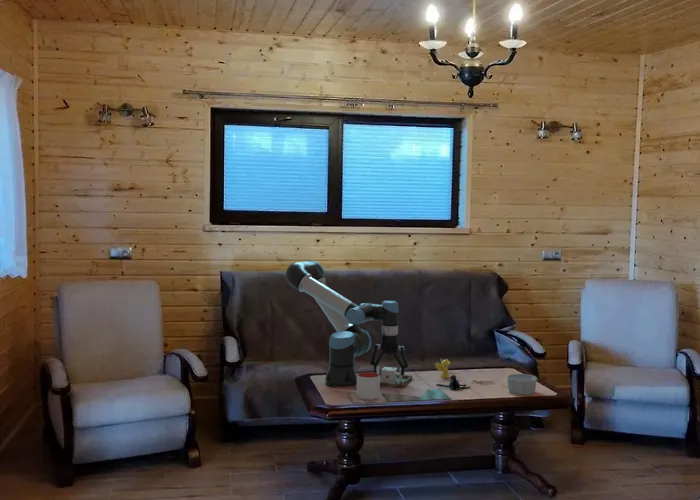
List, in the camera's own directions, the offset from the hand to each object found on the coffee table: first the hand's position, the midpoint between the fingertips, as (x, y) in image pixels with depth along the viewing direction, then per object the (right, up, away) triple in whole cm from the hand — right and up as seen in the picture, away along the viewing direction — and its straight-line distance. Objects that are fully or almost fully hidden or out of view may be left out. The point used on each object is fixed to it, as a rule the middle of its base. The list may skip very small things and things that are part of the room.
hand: (388, 381), depth 334 cm
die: (0, 0, 0) cm, 0 cm away
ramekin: (+59, -3, -13) cm, 60 cm away
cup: (-10, -3, -26) cm, 28 cm away
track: (+3, -2, -23) cm, 23 cm away
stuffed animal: (+29, -2, -7) cm, 30 cm away
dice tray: (0, -1, 0) cm, 1 cm away
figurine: (+30, -1, +11) cm, 32 cm away
